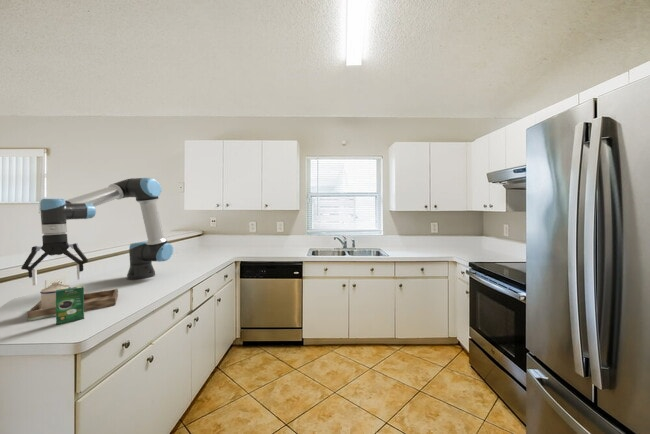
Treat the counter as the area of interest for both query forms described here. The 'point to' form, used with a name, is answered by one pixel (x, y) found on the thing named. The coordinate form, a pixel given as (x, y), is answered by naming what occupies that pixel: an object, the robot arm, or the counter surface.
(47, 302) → the teacup with lid
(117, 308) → the counter surface
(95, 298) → the wooden tray
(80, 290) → the coffee box
